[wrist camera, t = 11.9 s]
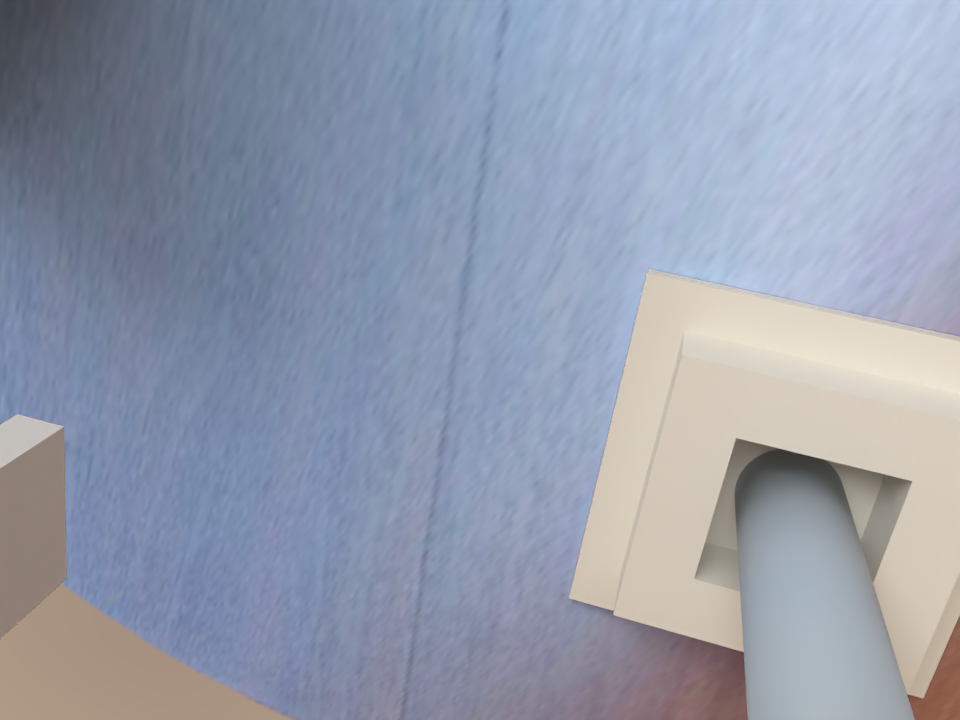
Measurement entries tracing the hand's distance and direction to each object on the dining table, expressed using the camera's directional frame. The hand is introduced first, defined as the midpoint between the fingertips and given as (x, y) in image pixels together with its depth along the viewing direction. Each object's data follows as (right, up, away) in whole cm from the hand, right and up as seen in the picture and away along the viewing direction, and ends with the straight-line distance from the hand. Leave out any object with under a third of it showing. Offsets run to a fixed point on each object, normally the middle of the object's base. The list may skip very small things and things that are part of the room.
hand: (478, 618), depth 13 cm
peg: (+13, -2, +25) cm, 29 cm away
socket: (+13, -2, +26) cm, 29 cm away
